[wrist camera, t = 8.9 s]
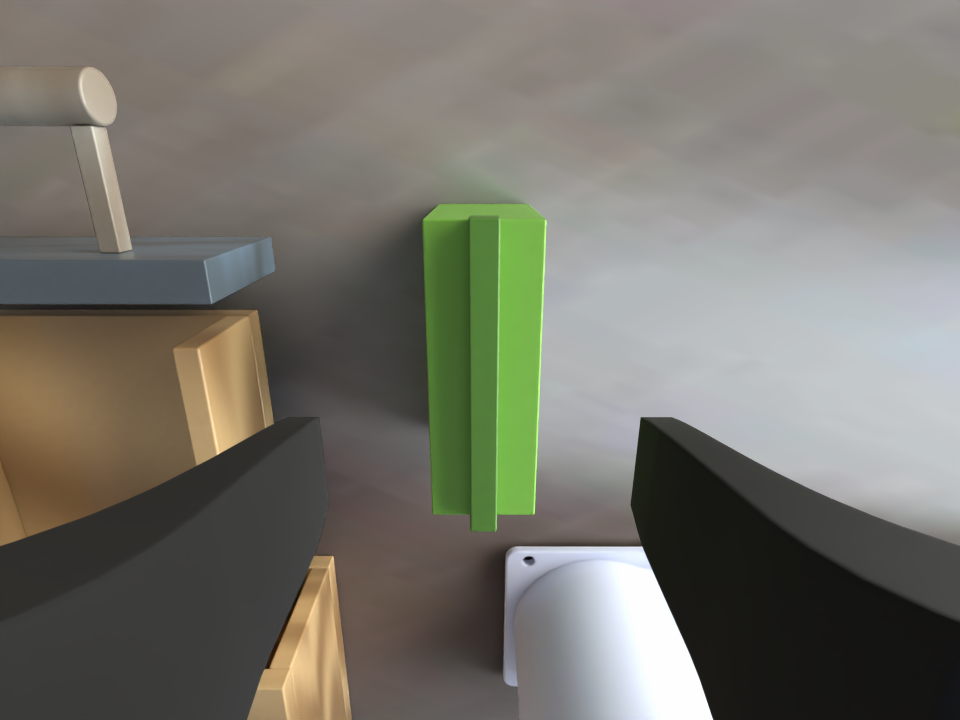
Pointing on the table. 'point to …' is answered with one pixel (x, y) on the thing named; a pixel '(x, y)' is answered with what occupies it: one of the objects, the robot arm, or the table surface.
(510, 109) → the table surface
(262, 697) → the cabinet
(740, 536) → the robot arm
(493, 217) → the green ridged box
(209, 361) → the drawer
